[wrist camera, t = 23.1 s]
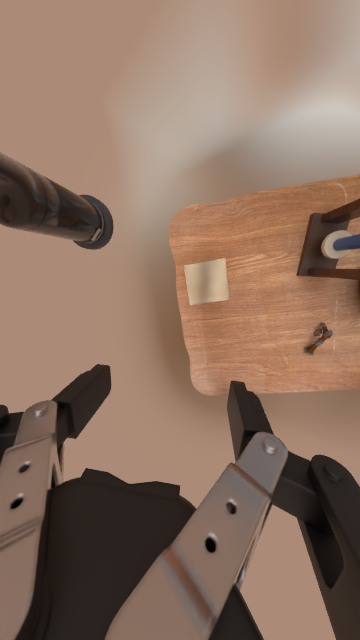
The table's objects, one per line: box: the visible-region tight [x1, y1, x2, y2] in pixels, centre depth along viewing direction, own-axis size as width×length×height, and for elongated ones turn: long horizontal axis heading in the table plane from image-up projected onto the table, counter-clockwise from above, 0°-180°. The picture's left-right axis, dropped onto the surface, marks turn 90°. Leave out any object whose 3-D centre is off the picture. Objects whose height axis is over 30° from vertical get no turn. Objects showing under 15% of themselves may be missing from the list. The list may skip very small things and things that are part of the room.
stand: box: [297, 199, 360, 280], centre depth 32 cm, size 7×12×17 cm, turn 177°
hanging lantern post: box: [304, 323, 333, 356], centre depth 44 cm, size 2×8×4 cm, turn 166°
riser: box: [184, 258, 229, 305], centre depth 38 cm, size 7×7×14 cm
